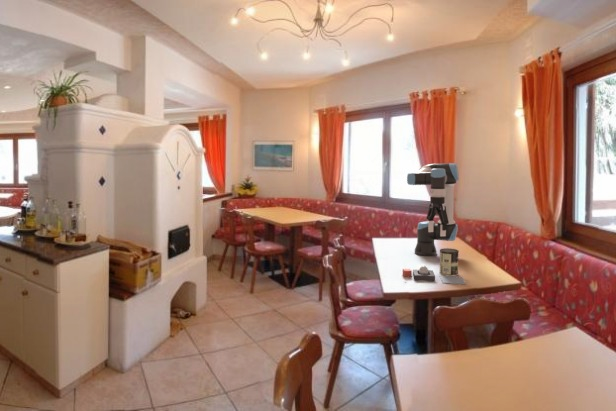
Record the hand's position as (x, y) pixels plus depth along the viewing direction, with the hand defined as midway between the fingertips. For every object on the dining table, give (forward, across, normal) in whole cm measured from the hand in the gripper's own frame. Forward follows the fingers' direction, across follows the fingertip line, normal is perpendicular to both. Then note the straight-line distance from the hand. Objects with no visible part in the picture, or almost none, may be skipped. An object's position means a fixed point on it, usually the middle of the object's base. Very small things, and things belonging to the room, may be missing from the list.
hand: (436, 234), depth 200 cm
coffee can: (+25, -5, +11) cm, 28 cm away
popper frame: (+25, 0, -7) cm, 26 cm away
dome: (+23, 0, -7) cm, 24 cm away
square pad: (+25, +7, +6) cm, 27 cm away
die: (+25, -5, -15) cm, 30 cm away
